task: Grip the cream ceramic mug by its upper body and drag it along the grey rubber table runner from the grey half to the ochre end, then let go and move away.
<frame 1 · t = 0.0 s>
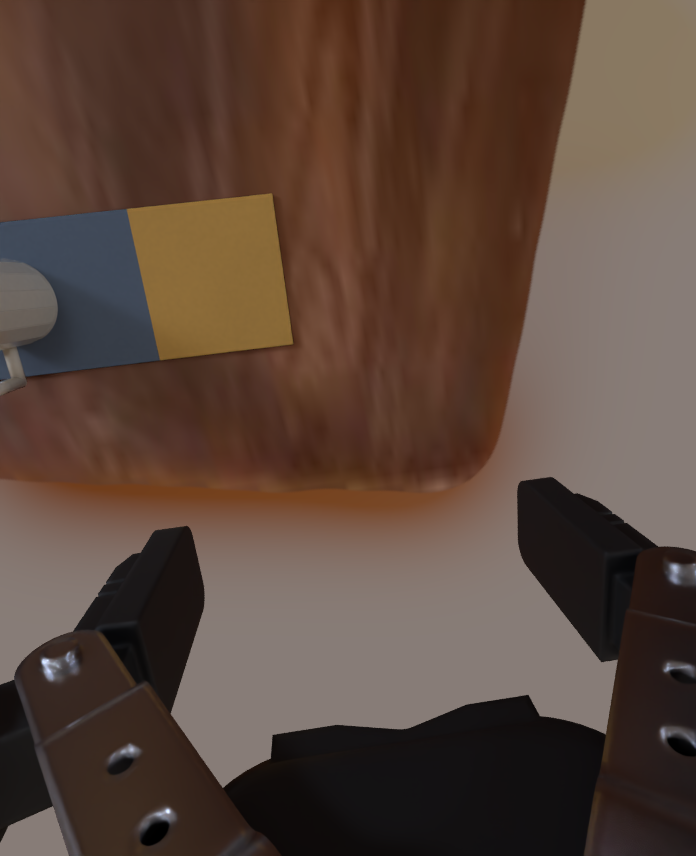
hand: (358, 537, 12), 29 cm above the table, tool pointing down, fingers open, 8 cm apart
runner: (117, 290, 37), on the table
mug: (14, 302, 37), resting on runner
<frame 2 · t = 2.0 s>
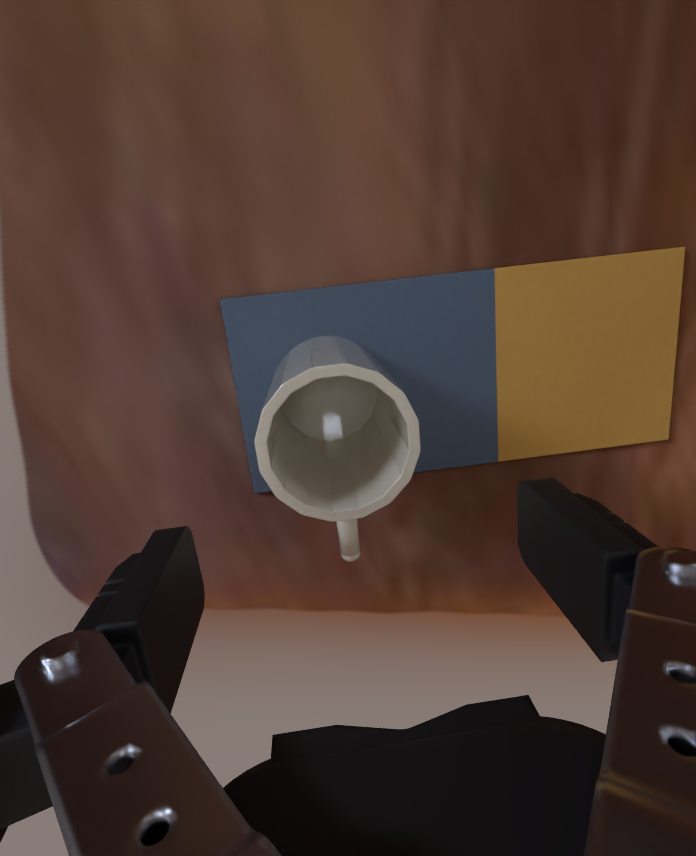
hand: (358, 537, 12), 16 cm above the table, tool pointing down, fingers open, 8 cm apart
runner: (460, 374, 28), on the table
mug: (328, 391, 27), resting on runner
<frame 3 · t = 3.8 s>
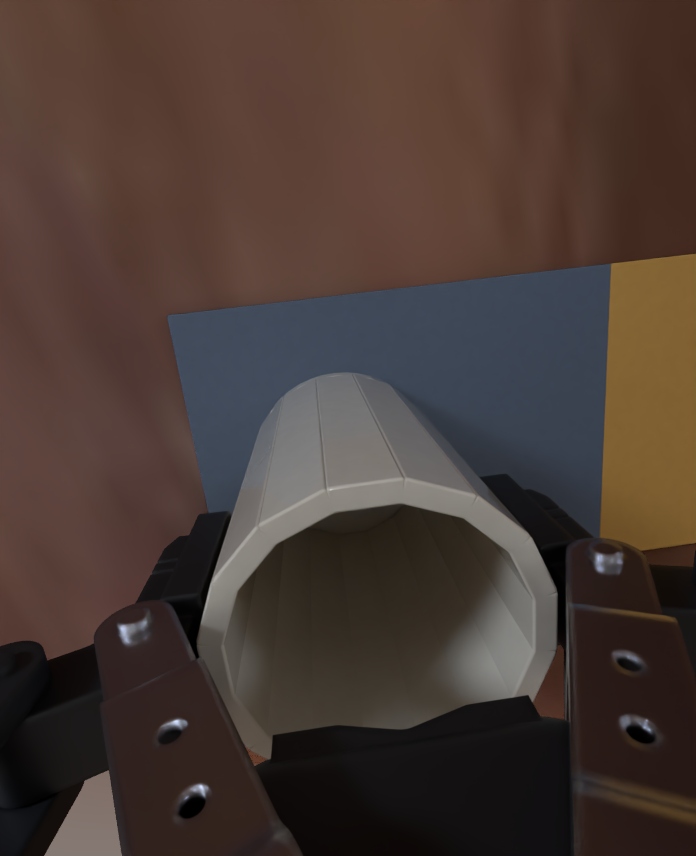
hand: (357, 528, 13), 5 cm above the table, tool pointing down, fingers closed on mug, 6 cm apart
runner: (548, 429, 18), on the table
mug: (343, 457, 17), resting on runner, touching gripper
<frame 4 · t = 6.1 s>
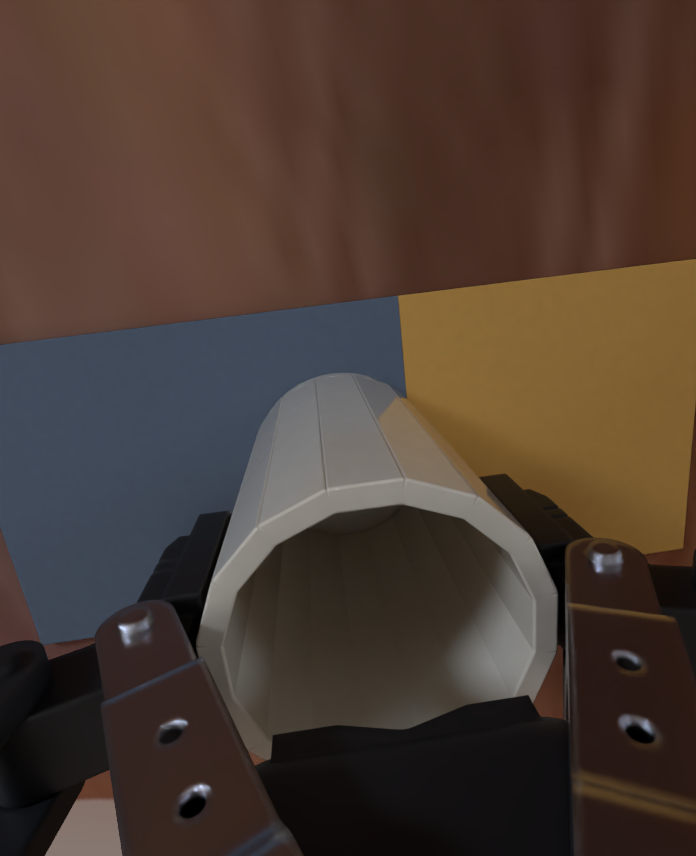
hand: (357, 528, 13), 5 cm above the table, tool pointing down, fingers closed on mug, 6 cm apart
runner: (355, 460, 18), on the table
mug: (342, 458, 17), resting on runner, touching gripper
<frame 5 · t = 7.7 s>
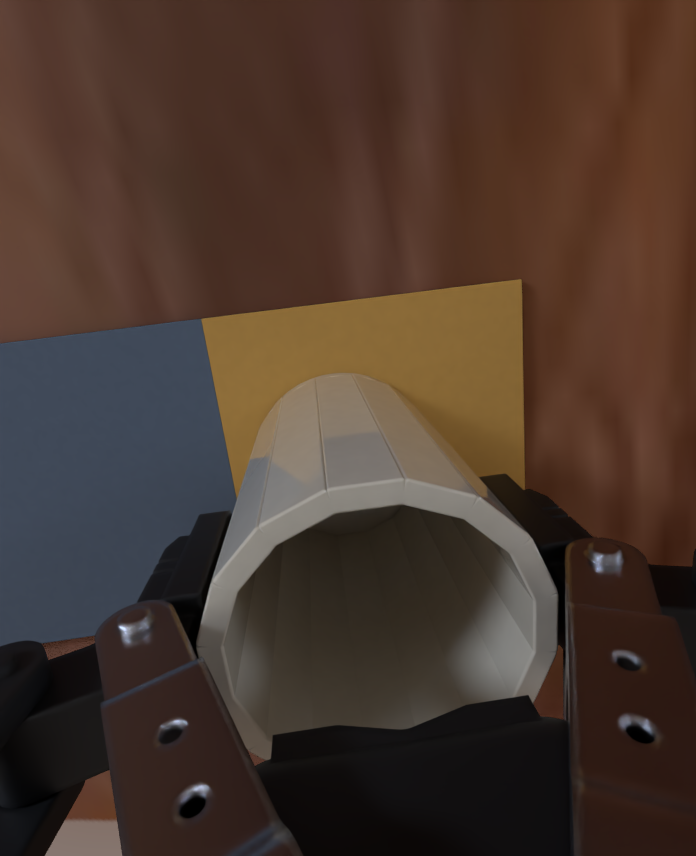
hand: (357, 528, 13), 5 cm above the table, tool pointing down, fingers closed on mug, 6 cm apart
runner: (176, 483, 17), on the table
mug: (342, 458, 17), resting on runner, touching gripper
when the fingers open (5 cm above the table, at t = 8.7 s): mug stays where it is, resting on runner.
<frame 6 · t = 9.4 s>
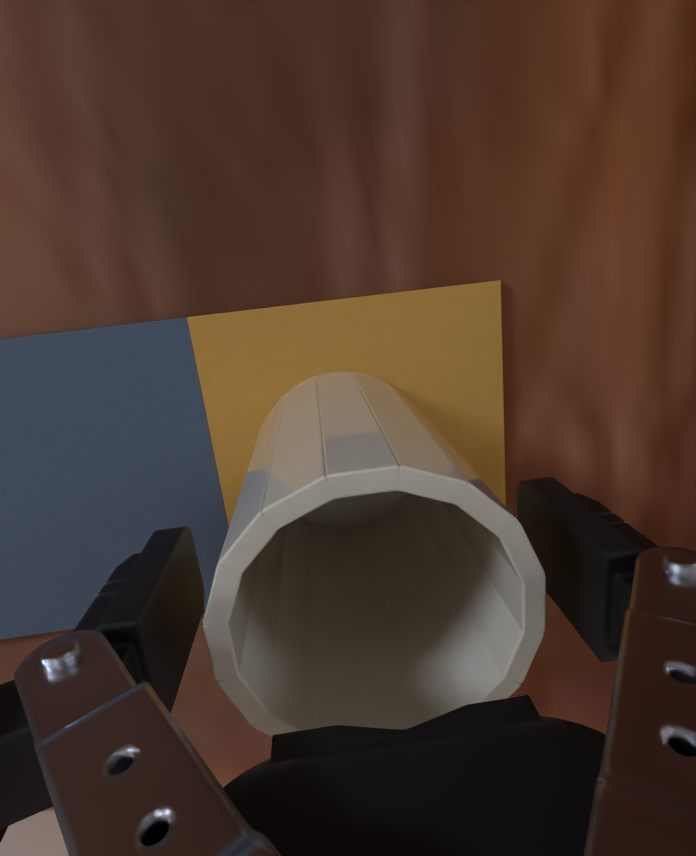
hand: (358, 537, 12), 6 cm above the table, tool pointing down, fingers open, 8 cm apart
runner: (163, 479, 18), on the table
mug: (342, 454, 18), resting on runner
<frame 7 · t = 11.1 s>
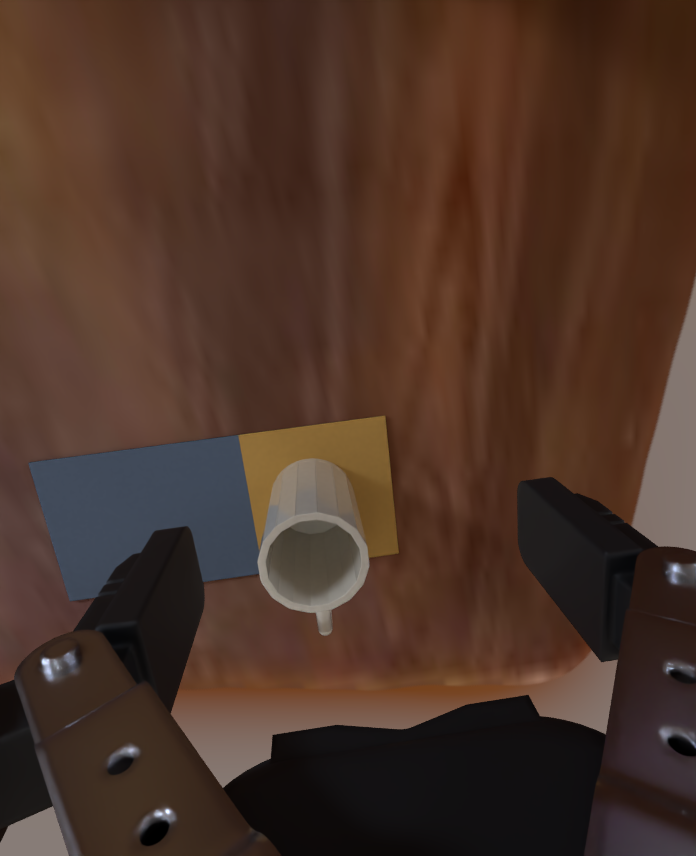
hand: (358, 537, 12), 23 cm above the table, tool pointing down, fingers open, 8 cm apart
runner: (224, 509, 36), on the table
mug: (312, 497, 37), resting on runner
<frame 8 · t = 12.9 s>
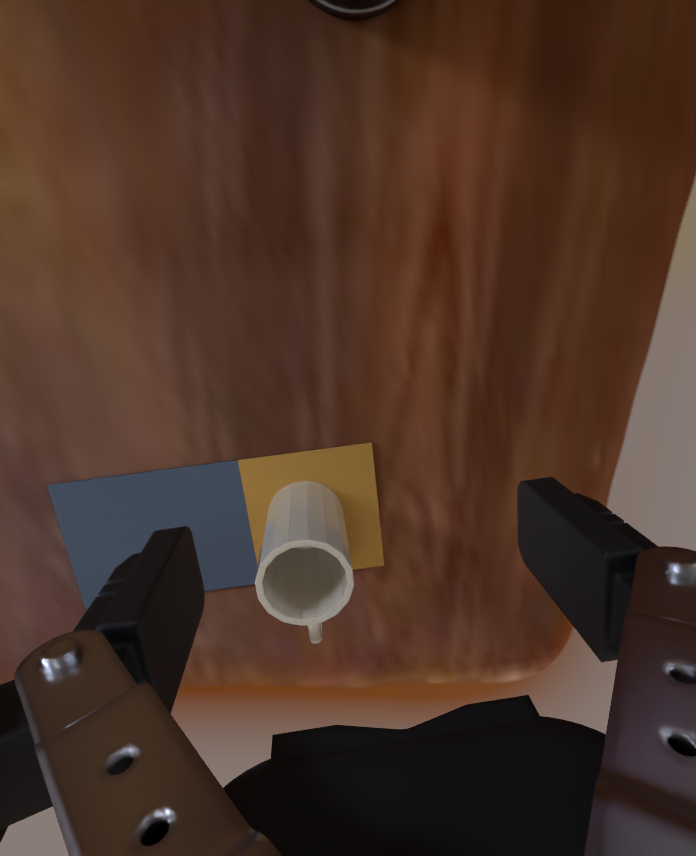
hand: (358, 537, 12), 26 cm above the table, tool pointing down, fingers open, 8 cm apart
runner: (225, 526, 40), on the table
mug: (305, 515, 40), resting on runner
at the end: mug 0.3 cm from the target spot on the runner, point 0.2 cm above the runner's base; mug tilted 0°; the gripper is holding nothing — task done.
